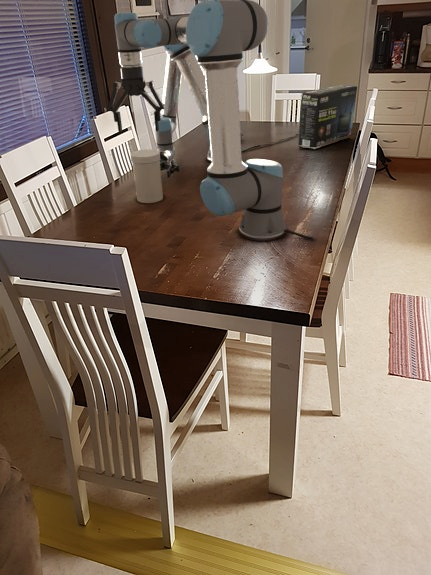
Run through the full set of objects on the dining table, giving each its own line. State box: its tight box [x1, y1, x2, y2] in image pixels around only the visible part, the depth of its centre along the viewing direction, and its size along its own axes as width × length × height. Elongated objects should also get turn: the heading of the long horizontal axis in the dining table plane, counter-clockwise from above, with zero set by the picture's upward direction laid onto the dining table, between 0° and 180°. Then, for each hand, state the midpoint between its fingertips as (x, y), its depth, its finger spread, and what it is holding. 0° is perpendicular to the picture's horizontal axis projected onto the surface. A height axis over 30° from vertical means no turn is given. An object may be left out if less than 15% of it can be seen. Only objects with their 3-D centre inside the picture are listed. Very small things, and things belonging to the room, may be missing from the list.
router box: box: [297, 84, 358, 151], centre depth 238 cm, size 36×11×27 cm, turn 134°
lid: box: [129, 148, 160, 164], centre depth 172 cm, size 11×11×2 cm
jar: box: [131, 160, 164, 204], centre depth 176 cm, size 10×10×17 cm
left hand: (151, 174), depth 186 cm, fingers open, 13 cm apart
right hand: (138, 131), depth 166 cm, fingers open, 13 cm apart
